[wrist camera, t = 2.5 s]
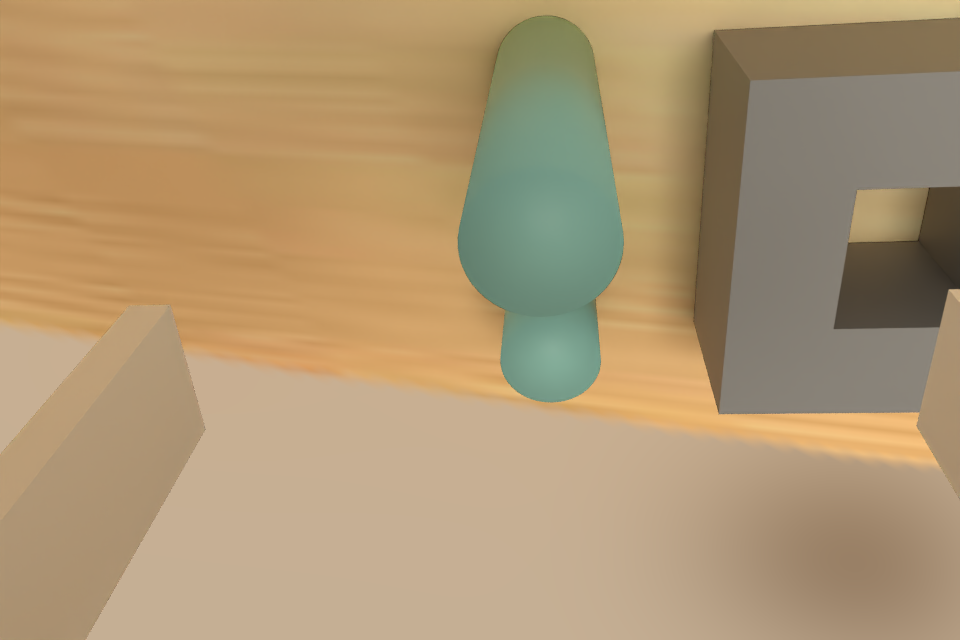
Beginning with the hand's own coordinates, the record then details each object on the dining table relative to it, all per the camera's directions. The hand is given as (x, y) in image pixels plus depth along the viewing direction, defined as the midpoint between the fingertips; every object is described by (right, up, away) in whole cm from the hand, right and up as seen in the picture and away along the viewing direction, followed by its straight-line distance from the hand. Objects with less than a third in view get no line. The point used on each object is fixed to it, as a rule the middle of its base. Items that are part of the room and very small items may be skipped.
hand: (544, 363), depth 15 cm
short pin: (+2, +2, +21) cm, 21 cm away
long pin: (+1, +10, +17) cm, 19 cm away
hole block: (+14, +6, +18) cm, 23 cm away
